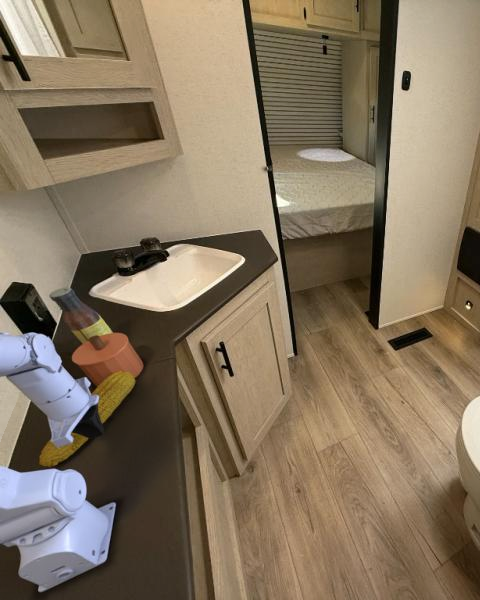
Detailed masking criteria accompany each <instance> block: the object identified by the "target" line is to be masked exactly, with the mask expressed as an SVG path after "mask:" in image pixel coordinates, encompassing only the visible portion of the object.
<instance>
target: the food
mask: <svg viewBox="0 0 480 600" xmlns="http://www.w3.org/2000/svg"><path fill="white" fill-rule="evenodd" d="M135 384H136V378H134V376H133V375H132V374H131V373H129V372H122V371H119V372H116V373H113V374H112V375H110V376H108V377H107V378H106V379H105V380H104V381H103V382H102V383H100V385H99V386H98V387H97V386H96V388H95V389H94V391H93V392H90V393H91V396H93V395H98V396H99V400H98V412H99V416H100V419H101V422H102V425H104V423H106V421H107V420H108V419H109V417H110V416H112V414H113V413H114V411H115V410H116V409H117V408H118V407H119V406H120V404H121V403H122V401H124V399H125V398H127V396H128V395H129V394H130V393H131V391H132V389H133V388H134V387H135ZM71 436H72V437H73V442H72V443H69V444H67V445H64V446H61V447H58V448H57V447H56V446H55V445H54V444H53V443H52V442H51V438H50V439H49V440H48V442H46V445H44V447H43V449H42V450H41V452H40V453H41V454H40V455H39V463H38V464H39V465H40V466H42V467H43V468H44V467H48V468H50V467H54V466H57V465H58V464H59V463H62V462H63V461H65V460H67V459H68V458H69V457H70V456H72V455H73V454H74V453H75V452H77V451H78V449H80V448H81V447H82V446H83V445H84V444H85V443H86V442H87V441H88V440H90V439H89V438H87V437H84V436H82V435H79V434H76V433H71Z"/></svg>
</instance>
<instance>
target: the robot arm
mask: <svg viewBox="0 0 480 600" xmlns="http://www.w3.org/2000/svg"><path fill="white" fill-rule="evenodd" d="M62 362H63V361H62V359H61V356H60V355H59V354H58V353H57V351H56V347H55V344H54V343H53V341H52V339H51V338H50V336H47V335H45V334H43V333H36V332H27V333H24V334H19V335H16V334H15V335H14V334H10V333H9V332H6V331H1V332H0V378H2V377H3V378H4V377H5V378H6V379H7V380H8V381H9V382H10V383H12V385H13V386H14V387H15V388H16V389H18V390H19V391H20V393H22V394H23V395H24V396H25V397H26V398H28V400H29V401H30V402H32V403H33V405H35V406H36V407H37V408H38V409H39V410H40V411H41V412H43V413H44V414H45V415H46V417H47V421H48V425H49V429H50V432H51V437H50V439H51V442H52V443H53V444H54V445H55V446H56V447H57V448H58V447H61V446H64V445H67V444H69V443H72V442H73V437H72V436H71V433H76V434H79V435H82V436H84V437H87V438H89V439H88V440H92V439H96V438H99V437H101V436H103V435H104V432H105V428H104V424H102V422H101V419H100V416H99V412H98V400H99V396H98V395H93V396H91V393H92V392H91V391H90V386H91V384H92V383H91V382H90V379H89V378H88V377H86V376H83V377H81V378H78V379H75V378H73V376H72V375H71V374H70V373H69V372H68V371H67V370H66V369H65V368H64V366H63V365H62ZM86 498H87V483H86V480H85V478H84V477H83V475H82V474H81V473H80V472H79V471H77V470H75V469H73V468H69V469H65V470H59V469H58V468H57V469H56V468H48V469H40V470H33V471H26V472H19V471H17V470H14V469H11V468H8V467H6V466H3V465H0V545H3V546H5V547H7V548H10V547H13V546H17V548H18V550H19V553H20V563H19V567H18V576H19V578H21V579H24V580H26V581H28V582H31V583H33V584H35V585H37V586H38V589H37V591H38V592H39V593H43V592H46V591H48V590H49V589H51V588H54V587H56V586H58V585H60V584H62V583H64V582H66V581H68V580H70V579H73V578H74V577H76V576H79V575H81V574H83V573H85V572H88V571H89V570H92V569H94V568H96V567H98V566H100V565H102V564H104V563H105V562H106V561H107V559H108V554H109V549H110V548H109V547H110V541H111V537H112V530H113V523H114V517H115V512H116V505H117V503H116V502H110V503H108V504H105V505H103V506H101V507H96V506H94V505H93V504H91V502H89V501H88V500H86Z"/></svg>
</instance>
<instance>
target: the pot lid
mask: <svg viewBox="0 0 480 600" xmlns="http://www.w3.org/2000/svg"><path fill="white" fill-rule="evenodd" d="M128 342H129V343H130V341H129V337H128V336H127V335H126V334H124V333H121V332H113V333H109V334H105V335H101V336H98V335H96V336H92V337H90V338H89V339H88V341H87V342H86V343H84V344H82V343H81V345H80V346H79V347H77V348H76V349H75V350H74V352H73V353H72V356H71V360H72V362H73V363H74V364H75V365H77V366H78V365H81V366H88V365H94V364H98V363H101V362H104V361H107V360H109V359H111V358H113V357H114V356H116V355H118V354H119V353H120V352H122V351H123V350H124V349H125V348H126V346H127V345H128Z"/></svg>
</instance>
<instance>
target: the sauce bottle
mask: <svg viewBox="0 0 480 600" xmlns="http://www.w3.org/2000/svg"><path fill="white" fill-rule="evenodd" d="M49 298H50V299H51V301H53V302H55V303H56V305H57V306H58V307H59V308H60V310H61V312H62V321H63V322H64V323H65V325H66V326H67V327H68V329H69V330H70V331H71V332H72V333H73V335H74V336H75V337H76V338H77V339H78V340H79V342H81V345H82V344H84V343H86V342H87V341H88V339H89V338H90V337H92V336H96V335H98V336H101V335H105V334H109V333H114V332H113V331H112V329H111V328H110V326H109V325H108V324H107V323H106V322H105V319H103V318H102V316H101V314H100V313H98V311H96V310H95V309H93V308H92V307H90V306H89V305H87V304H86V303H84V302H82V301H81V300H80V299H79V297H78V296H77V295H76V292H75V290H74V289H72V287H68V286H67V287H66V286H65V287H61V288H58V289H55V290H53V291H51V292H50V293H49Z"/></svg>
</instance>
